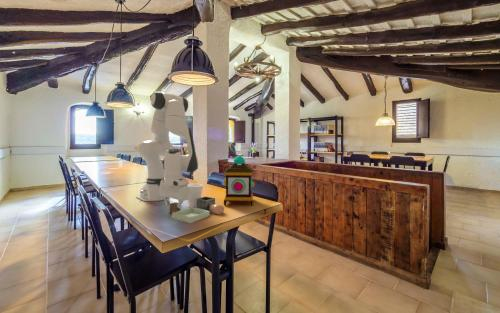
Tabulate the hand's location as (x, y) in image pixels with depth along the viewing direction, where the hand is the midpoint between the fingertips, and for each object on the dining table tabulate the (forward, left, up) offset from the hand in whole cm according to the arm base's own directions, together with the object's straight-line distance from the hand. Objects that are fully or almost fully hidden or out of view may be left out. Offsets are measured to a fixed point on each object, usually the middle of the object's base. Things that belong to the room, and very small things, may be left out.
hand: (173, 206), depth 126 cm
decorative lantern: (+15, +40, -5) cm, 42 cm away
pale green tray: (+12, +2, -5) cm, 13 cm away
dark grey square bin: (+10, +15, -5) cm, 18 cm away
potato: (+18, +12, -4) cm, 22 cm away
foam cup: (-1, +17, -5) cm, 17 cm away
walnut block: (+1, +1, -5) cm, 5 cm away
